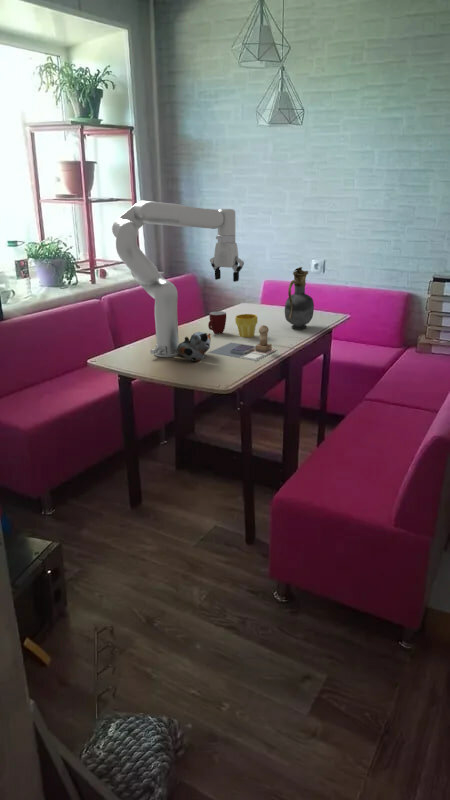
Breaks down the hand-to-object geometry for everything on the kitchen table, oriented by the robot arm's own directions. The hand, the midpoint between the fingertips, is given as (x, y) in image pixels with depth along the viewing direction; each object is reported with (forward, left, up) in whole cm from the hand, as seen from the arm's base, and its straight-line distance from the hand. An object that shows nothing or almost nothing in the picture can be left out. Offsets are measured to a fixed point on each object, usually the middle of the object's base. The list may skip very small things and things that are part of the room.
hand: (226, 280), depth 257 cm
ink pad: (-6, -12, -29) cm, 32 cm away
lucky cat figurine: (-23, +2, -30) cm, 38 cm away
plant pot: (+17, +1, -29) cm, 34 cm away
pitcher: (+41, -14, -29) cm, 52 cm away
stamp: (-2, -20, -28) cm, 35 cm away
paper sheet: (-6, -20, -29) cm, 36 cm away
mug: (+14, +16, -29) cm, 36 cm away
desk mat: (-6, -12, -29) cm, 32 cm away
